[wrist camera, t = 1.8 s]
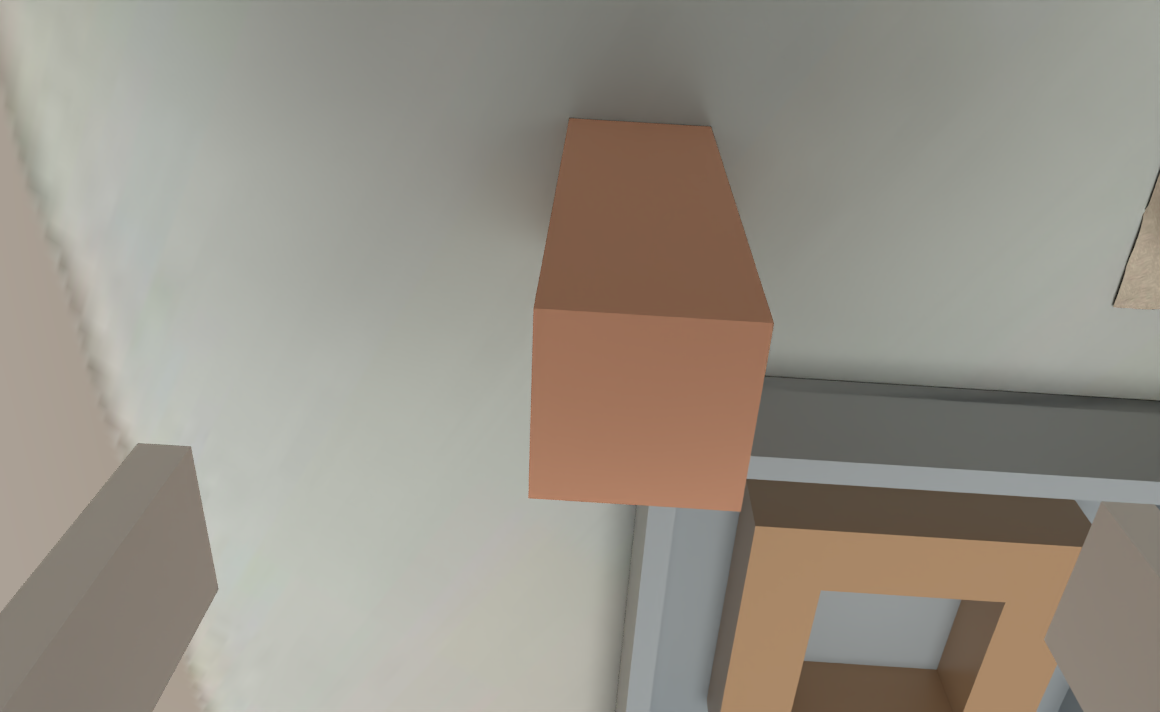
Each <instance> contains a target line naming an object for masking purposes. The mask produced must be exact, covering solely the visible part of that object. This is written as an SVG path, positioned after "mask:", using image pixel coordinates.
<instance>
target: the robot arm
mask: <svg viewBox="0 0 1160 712" xmlns="http://www.w3.org/2000/svg"><path fill="white" fill-rule="evenodd" d="M217 591H218V584H217V579H216V574H215V569H214V564H213V558H212V553H211V548H210V543H209V538H208V533H207V527H206V522H205V517H204V512H203V507H202V502H201V496H200V491H199V486H198V481H197V476H196V471H195V465H194V460H193V455H192V450H191V446H176V445H160V444H143V443H138V444H137V445H136V446H135V447H134V449H133V450H132V451H131V452H130V454H129V455H128V456H127V457H126V459H125V460H124V461H123V462H122V463H121V465H120V466H119V467H118V468H117V470H116V471H115V472H114V473H113V475H112V476H111V477H110V478H109V479H108V481H107V482H106V483H105V485H104V486H103V487H102V488H101V489H100V491H99V492H98V493H97V494H96V496H95V497H94V498H93V499H92V501H91V502H90V503H89V504H88V506H87V507H86V508H85V509H84V510H83V512H82V513H81V514H80V515H79V517H78V518H77V519H76V520H75V521H74V523H73V524H72V525H71V526H70V528H69V529H68V530H67V531H66V533H65V534H64V535H63V536H62V537H61V539H60V540H59V541H58V543H57V544H56V545H55V546H54V547H53V549H52V550H51V551H50V553H48V555H47V556H46V557H45V558H44V560H43V561H42V562H41V563H40V565H39V566H38V567H37V568H36V569H35V571H34V572H33V573H32V574H31V576H30V577H29V578H28V579H27V581H26V582H25V583H24V584H23V586H22V587H21V588H20V589H19V590H18V592H17V593H16V594H15V595H14V597H13V598H12V599H11V601H10V602H9V603H8V604H7V605H6V607H5V608H4V609H3V610H2V611H1V613H0V712H152V711H153V710H154V708H155V706H156V704H157V702H158V700H159V698H160V697H161V695H162V693H163V691H164V689H165V687H166V685H167V684H168V682H169V680H170V678H171V676H172V674H173V673H174V671H175V669H176V667H177V665H178V663H179V661H180V660H181V658H182V656H183V654H184V652H185V650H186V648H187V647H188V645H189V643H190V641H191V639H192V637H193V636H194V634H195V632H196V630H197V628H198V626H199V624H200V623H201V621H202V619H203V617H204V615H205V613H206V611H207V610H208V608H209V606H210V604H211V602H212V600H213V598H214V597H215V595H216V593H217ZM1044 641H1045V643H1046V644H1047V646H1048V648H1049V650H1050V652H1051V653H1052V655H1053V657H1054V659H1055V661H1056V663H1057V664H1058V666H1059V668H1060V670H1061V672H1062V673H1063V675H1064V677H1065V679H1066V681H1067V683H1068V684H1069V686H1070V688H1071V690H1072V692H1073V693H1074V695H1075V697H1076V699H1077V701H1078V703H1079V704H1080V706H1081V708H1082V710H1083V712H1160V510H1159V509H1158V508H1157V507H1156V505H1155V504H1138V503H1122V502H1105V501H1101V504H1100V506H1099V508H1098V511H1097V513H1096V516H1095V518H1094V520H1093V523H1092V525H1091V528H1090V530H1089V532H1088V535H1087V537H1086V540H1085V542H1084V544H1083V547H1082V549H1081V552H1080V554H1079V556H1078V559H1077V561H1076V564H1075V566H1074V568H1073V571H1072V573H1071V576H1070V578H1069V580H1068V583H1067V585H1066V588H1065V590H1064V592H1063V595H1062V597H1061V600H1060V602H1059V604H1058V607H1057V609H1056V612H1055V614H1054V616H1053V619H1052V621H1051V624H1050V626H1049V628H1048V631H1047V633H1046V636H1045V638H1044Z"/></svg>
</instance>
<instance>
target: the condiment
mask: <svg viewBox="0 0 1160 712" xmlns="http://www.w3.org/2000/svg"><path fill="white" fill-rule="evenodd" d="M1113 307H1116V308H1134V309H1160V174H1159V177H1158V179H1157V182H1156V185H1155V189H1154V191H1153V194H1152V197H1151V200H1150V202H1149V205H1148V207H1147V208H1146V210H1145V212H1144V214H1143V221H1142V224H1141V228H1140V232H1139V235H1138V239H1137V241H1136V244H1135V247H1134V249H1133V251H1132V253H1131V256H1130V258H1129V261H1128V263H1127V266H1126V270H1125V275H1124V278H1123V281H1122V284H1121V287H1120V290H1119V293H1118V295H1117V298H1116V301H1115V303H1114V306H1113Z"/></svg>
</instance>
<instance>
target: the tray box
mask: <svg viewBox="0 0 1160 712" xmlns="http://www.w3.org/2000/svg"><path fill="white" fill-rule="evenodd" d="M1101 501H1105V502H1122V503H1138V504H1155V505H1156V507H1157V508H1158V509H1159V510H1160V401H1148V400H1132V399H1116V398H1100V397H1084V396H1068V395H1052V394H1036V393H1020V392H1004V391H989V390H973V389H957V388H941V387H925V386H909V385H893V384H877V383H861V382H845V381H829V380H813V379H797V378H781V377H766V376H765V377H764V383H763V388H762V394H761V400H760V405H759V411H758V417H757V422H756V428H755V434H754V439H753V445H752V451H751V456H750V462H749V468H748V473H747V479H746V485H745V490H744V496H743V502H742V507H741V512H737V511H721V510H706V509H690V508H675V507H659V506H643V505H636V515H635V524H634V534H633V544H632V553H631V563H630V573H629V583H628V592H627V602H626V612H625V622H624V631H623V641H622V651H621V661H620V670H619V680H618V690H617V699H616V709H615V712H1083V710H1082V708H1081V706H1080V704H1079V703H1078V701H1077V699H1076V697H1075V695H1074V693H1073V692H1072V690H1071V688H1070V686H1069V684H1068V683H1067V681H1066V679H1065V677H1064V675H1063V673H1062V672H1061V670H1060V668H1059V666H1058V664H1057V663H1056V661H1055V659H1054V657H1053V655H1052V653H1051V652H1050V650H1049V648H1048V646H1047V644H1046V643H1045V641H1044V638H1045V636H1046V633H1047V631H1048V628H1049V626H1050V624H1051V621H1052V619H1053V616H1054V614H1055V612H1056V609H1057V607H1058V604H1059V602H1060V600H1061V597H1062V595H1063V592H1064V590H1065V588H1066V585H1067V583H1068V580H1069V578H1070V576H1071V573H1072V571H1073V568H1074V566H1075V564H1076V561H1077V559H1078V556H1079V554H1080V552H1081V549H1082V547H1083V544H1084V542H1085V540H1086V537H1087V535H1088V532H1089V530H1090V528H1091V525H1092V523H1093V520H1094V518H1095V516H1096V513H1097V511H1098V508H1099V506H1100V504H1101Z"/></svg>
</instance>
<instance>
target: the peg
mask: <svg viewBox="0 0 1160 712" xmlns="http://www.w3.org/2000/svg"><path fill="white" fill-rule="evenodd" d="M773 326H774V322H773V319H772V316H771V313H770V309H769V306H768V303H767V300H766V297H765V294H764V291H763V288H762V284H761V281H760V278H759V275H758V272H757V269H756V266H755V263H754V259H753V256H752V253H751V250H750V247H749V244H748V241H747V238H746V234H745V231H744V228H743V225H742V222H741V219H740V216H739V213H738V210H737V206H736V203H735V200H734V197H733V194H732V191H731V188H730V185H729V181H728V178H727V175H726V172H725V169H724V166H723V163H722V160H721V156H720V153H719V150H718V147H717V144H716V141H715V138H714V135H713V131H712V128H711V127H708V126H692V125H675V124H658V123H642V122H625V121H609V120H592V119H575V118H569V122H568V128H567V133H566V138H565V144H564V149H563V154H562V160H561V165H560V170H559V176H558V181H557V186H556V192H555V197H554V202H553V208H552V213H551V218H550V224H549V229H548V234H547V240H546V245H545V250H544V256H543V261H542V266H541V272H540V277H539V282H538V288H537V293H536V298H535V304H534V313H533V350H532V386H531V423H530V460H529V497H528V498H534V499H550V500H566V501H581V502H597V503H612V504H628V505H643V506H659V507H675V508H690V509H706V510H721V511H737V512H741V507H742V502H743V496H744V490H745V485H746V479H747V473H748V468H749V462H750V456H751V451H752V445H753V439H754V434H755V428H756V422H757V417H758V411H759V405H760V400H761V394H762V388H763V383H764V377H765V371H766V366H767V360H768V354H769V349H770V343H771V337H772V331H773Z"/></svg>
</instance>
